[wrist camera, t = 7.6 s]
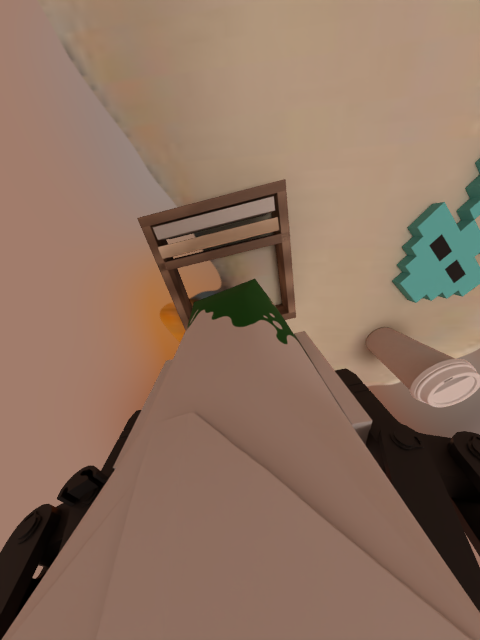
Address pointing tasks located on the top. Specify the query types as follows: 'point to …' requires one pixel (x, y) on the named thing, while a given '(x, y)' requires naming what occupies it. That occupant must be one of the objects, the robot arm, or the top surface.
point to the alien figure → (442, 251)
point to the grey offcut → (215, 219)
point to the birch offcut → (219, 238)
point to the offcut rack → (215, 204)
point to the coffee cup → (424, 368)
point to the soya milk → (247, 512)
